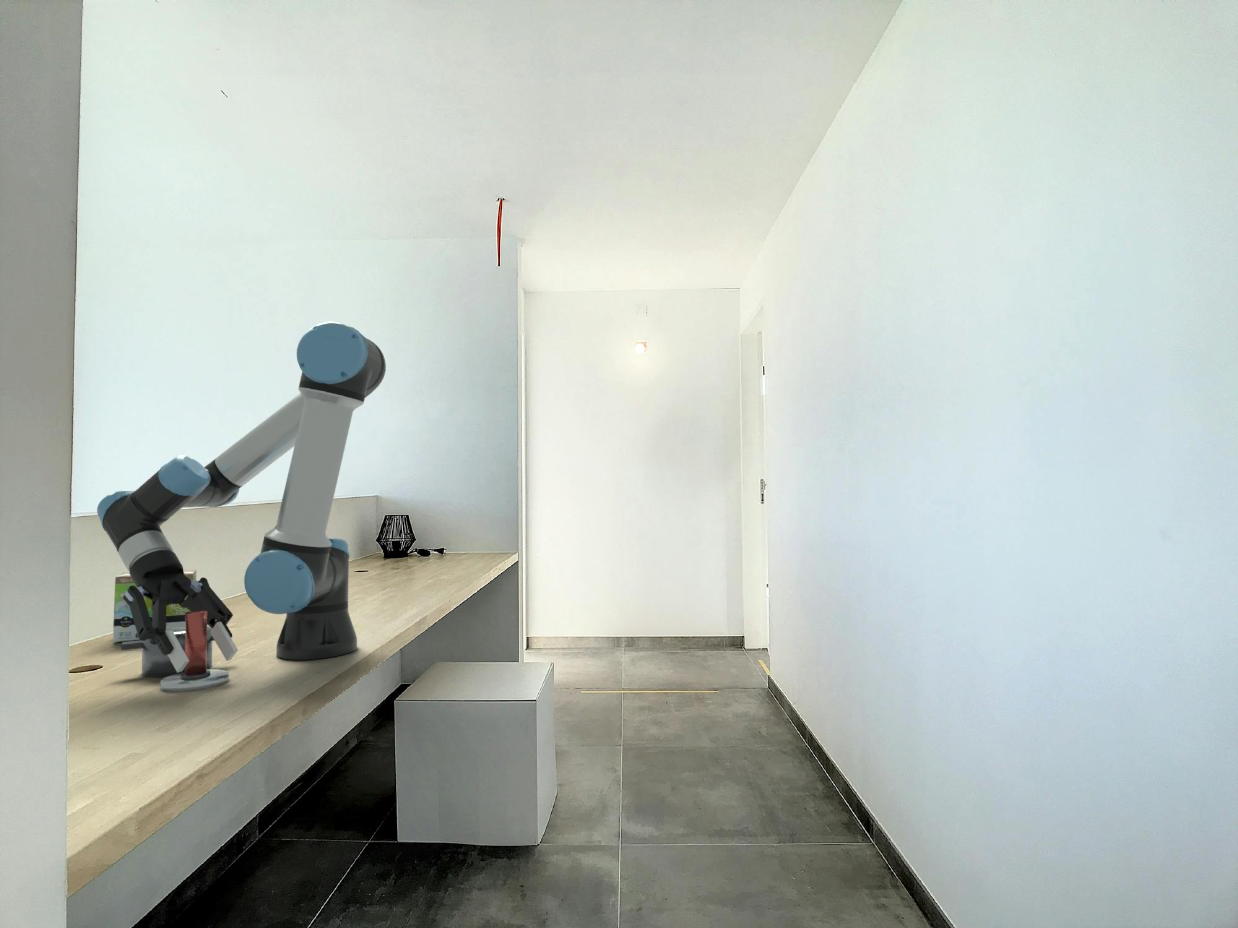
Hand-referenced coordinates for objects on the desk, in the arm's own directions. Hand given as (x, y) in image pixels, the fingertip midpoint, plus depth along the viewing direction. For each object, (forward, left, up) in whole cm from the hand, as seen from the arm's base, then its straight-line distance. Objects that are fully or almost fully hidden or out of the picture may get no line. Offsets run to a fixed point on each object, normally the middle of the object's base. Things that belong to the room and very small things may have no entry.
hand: (208, 660), depth 118 cm
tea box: (+40, -39, -4) cm, 56 cm away
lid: (+3, -1, -4) cm, 5 cm away
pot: (+13, -10, -4) cm, 17 cm away
